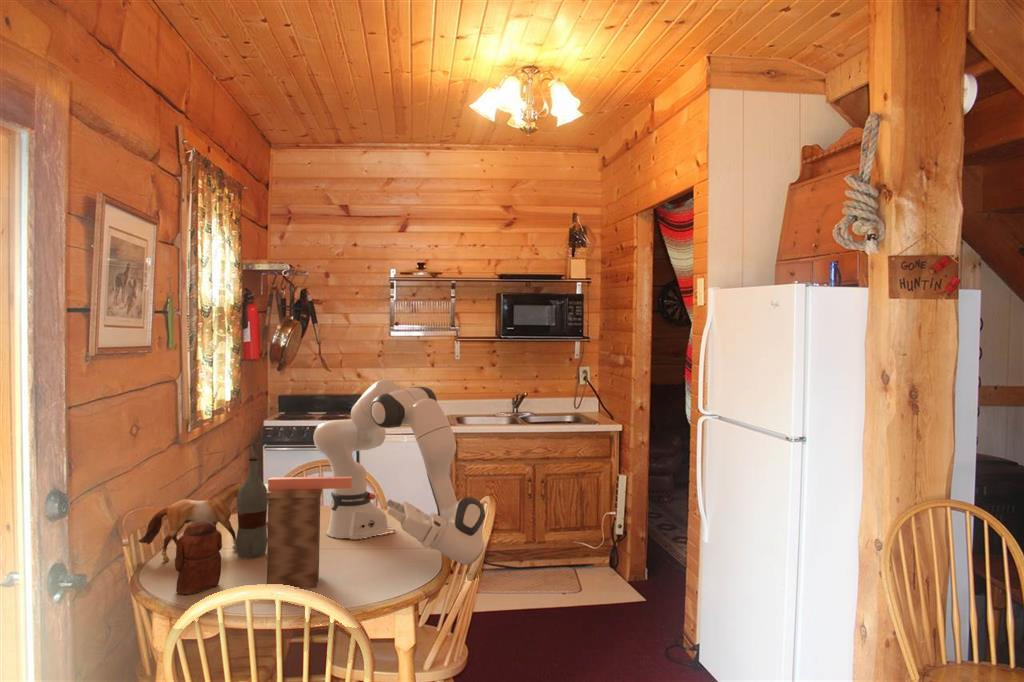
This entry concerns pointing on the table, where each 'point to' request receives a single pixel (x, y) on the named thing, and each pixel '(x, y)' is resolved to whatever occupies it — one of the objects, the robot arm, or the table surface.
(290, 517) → the stand
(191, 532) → the wooden figurine
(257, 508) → the bottle
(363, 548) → the table surface
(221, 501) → the horse figurine
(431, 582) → the table surface
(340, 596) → the table surface
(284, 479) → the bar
